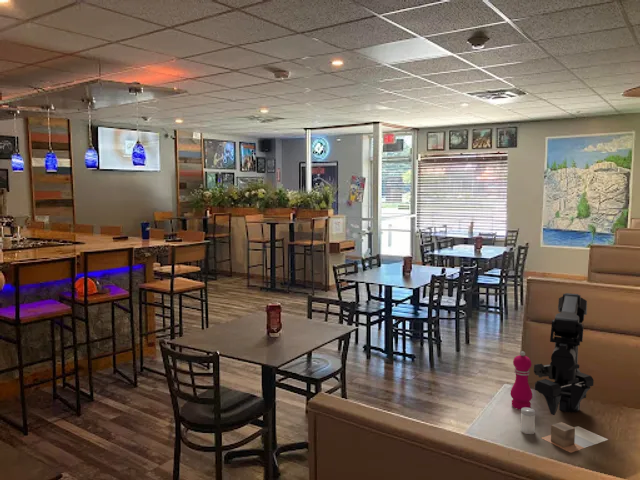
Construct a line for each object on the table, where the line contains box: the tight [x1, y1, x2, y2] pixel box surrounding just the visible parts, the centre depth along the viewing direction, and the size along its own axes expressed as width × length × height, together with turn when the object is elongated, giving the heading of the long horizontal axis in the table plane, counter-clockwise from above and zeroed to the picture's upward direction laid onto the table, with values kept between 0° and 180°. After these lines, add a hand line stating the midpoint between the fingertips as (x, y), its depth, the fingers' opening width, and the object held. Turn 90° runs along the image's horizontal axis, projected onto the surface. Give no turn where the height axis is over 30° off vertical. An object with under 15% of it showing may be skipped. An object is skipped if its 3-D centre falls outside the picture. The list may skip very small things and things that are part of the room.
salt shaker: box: [520, 407, 536, 435], centre depth 155 cm, size 4×4×8 cm
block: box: [550, 421, 575, 448], centre depth 147 cm, size 4×4×5 cm
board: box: [541, 425, 609, 454], centre depth 150 cm, size 17×10×1 cm, turn 117°
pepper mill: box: [510, 350, 533, 411], centre depth 176 cm, size 7×7×20 cm
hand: (563, 411), depth 147 cm, fingers open, 9 cm apart
